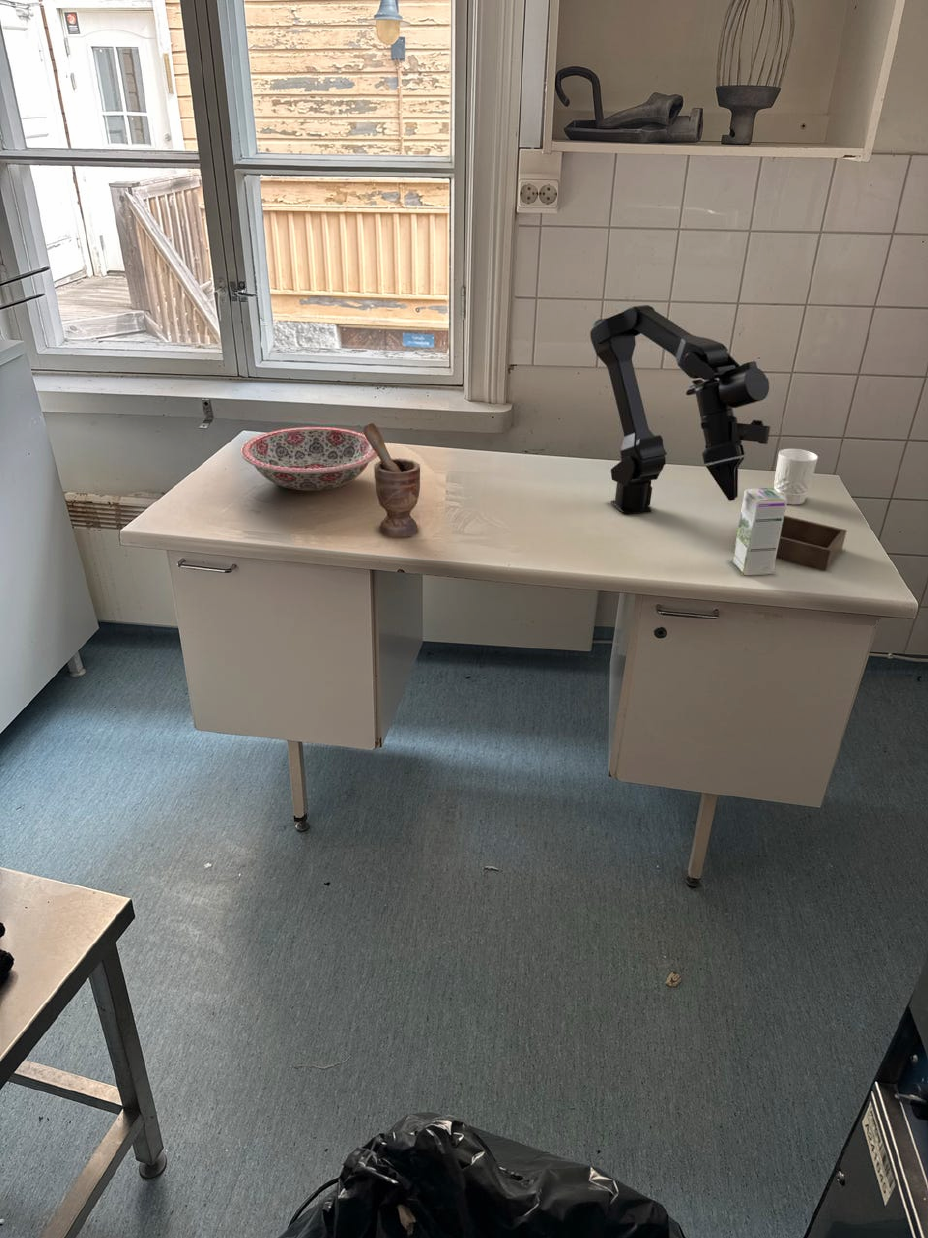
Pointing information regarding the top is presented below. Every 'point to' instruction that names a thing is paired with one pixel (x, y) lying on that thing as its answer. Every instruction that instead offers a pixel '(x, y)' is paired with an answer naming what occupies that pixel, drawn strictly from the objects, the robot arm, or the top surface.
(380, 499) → the mortar and pestle
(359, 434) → the ceramic bowl
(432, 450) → the top surface
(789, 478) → the white cup
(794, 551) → the crate
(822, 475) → the top surface
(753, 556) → the syrup box
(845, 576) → the top surface
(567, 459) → the top surface
